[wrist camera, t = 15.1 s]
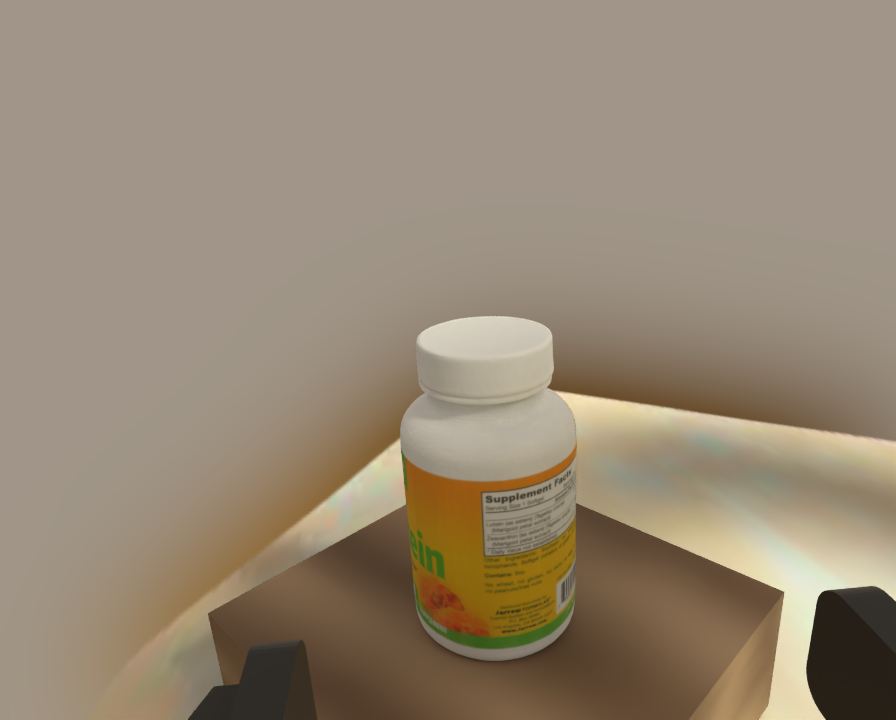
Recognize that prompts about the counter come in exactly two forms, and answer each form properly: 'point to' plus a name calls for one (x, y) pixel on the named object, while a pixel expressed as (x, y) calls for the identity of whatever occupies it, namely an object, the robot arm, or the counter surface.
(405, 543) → the walnut block
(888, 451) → the counter surface
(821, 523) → the counter surface
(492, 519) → the supplement bottle
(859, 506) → the counter surface
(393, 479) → the counter surface
